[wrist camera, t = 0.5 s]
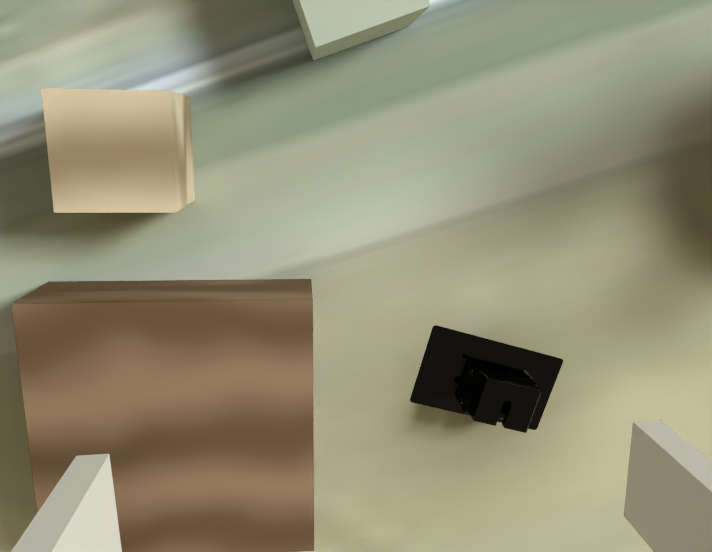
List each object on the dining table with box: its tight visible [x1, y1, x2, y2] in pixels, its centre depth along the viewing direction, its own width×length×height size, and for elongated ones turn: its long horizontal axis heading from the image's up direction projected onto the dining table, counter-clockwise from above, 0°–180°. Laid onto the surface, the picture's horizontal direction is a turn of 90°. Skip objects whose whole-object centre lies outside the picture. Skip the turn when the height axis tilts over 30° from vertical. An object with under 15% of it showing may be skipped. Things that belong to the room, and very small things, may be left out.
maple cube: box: [41, 88, 195, 213], centre depth 33 cm, size 6×6×6 cm
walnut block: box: [11, 279, 314, 552], centre depth 37 cm, size 16×16×5 cm
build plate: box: [410, 326, 563, 433], centre depth 40 cm, size 12×7×5 cm, turn 74°
